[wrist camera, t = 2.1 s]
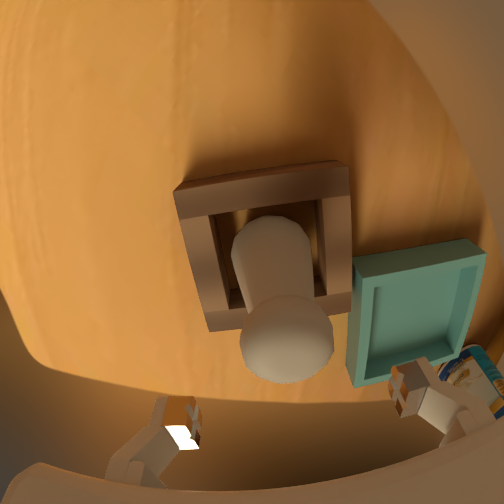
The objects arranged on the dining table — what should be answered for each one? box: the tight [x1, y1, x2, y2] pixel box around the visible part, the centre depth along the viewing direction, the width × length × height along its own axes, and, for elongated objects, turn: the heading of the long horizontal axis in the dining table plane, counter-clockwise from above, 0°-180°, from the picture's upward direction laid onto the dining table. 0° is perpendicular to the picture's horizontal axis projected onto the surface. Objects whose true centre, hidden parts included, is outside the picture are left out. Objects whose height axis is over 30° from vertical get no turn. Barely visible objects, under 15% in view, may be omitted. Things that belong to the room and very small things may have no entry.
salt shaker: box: [231, 215, 334, 384], centre depth 18 cm, size 6×6×13 cm
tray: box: [346, 238, 487, 388], centre depth 26 cm, size 13×13×4 cm
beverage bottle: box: [438, 344, 504, 420], centre depth 23 cm, size 8×8×20 cm
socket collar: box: [173, 160, 352, 332], centre depth 23 cm, size 12×12×3 cm
